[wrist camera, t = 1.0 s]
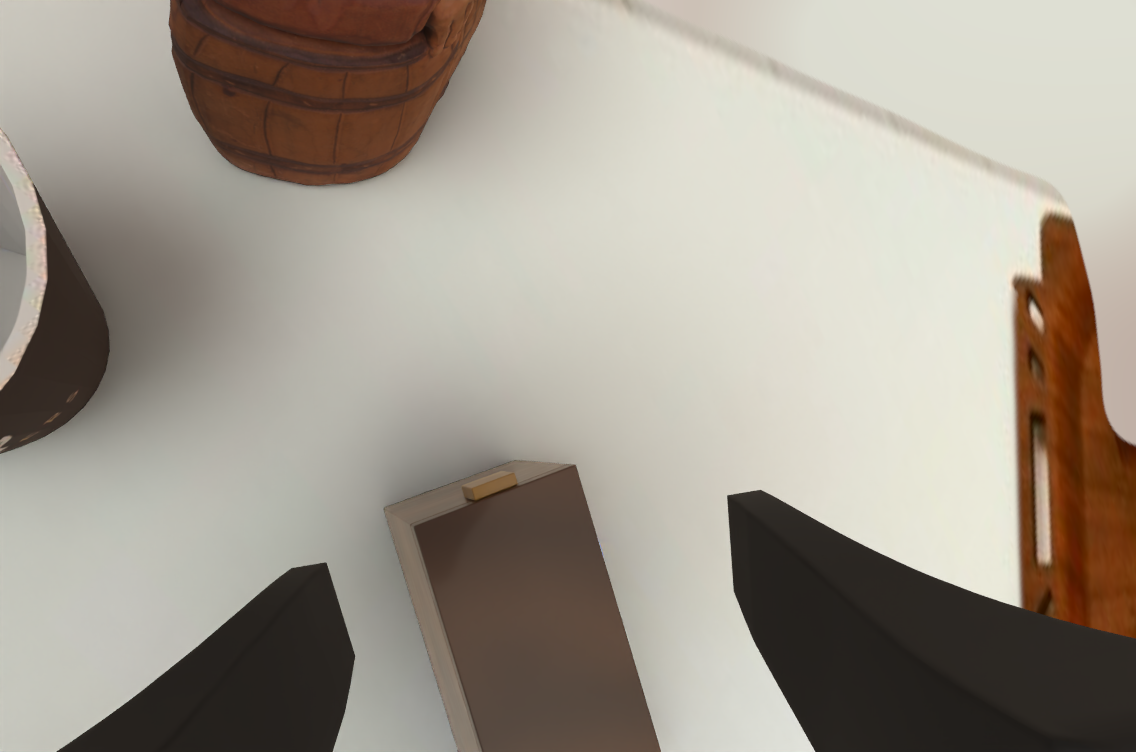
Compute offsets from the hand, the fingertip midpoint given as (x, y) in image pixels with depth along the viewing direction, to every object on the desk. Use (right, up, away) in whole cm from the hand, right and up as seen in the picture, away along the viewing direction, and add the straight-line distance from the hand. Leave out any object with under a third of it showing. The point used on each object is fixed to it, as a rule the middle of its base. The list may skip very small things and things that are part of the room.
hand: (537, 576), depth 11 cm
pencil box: (-2, -7, +12) cm, 14 cm away
